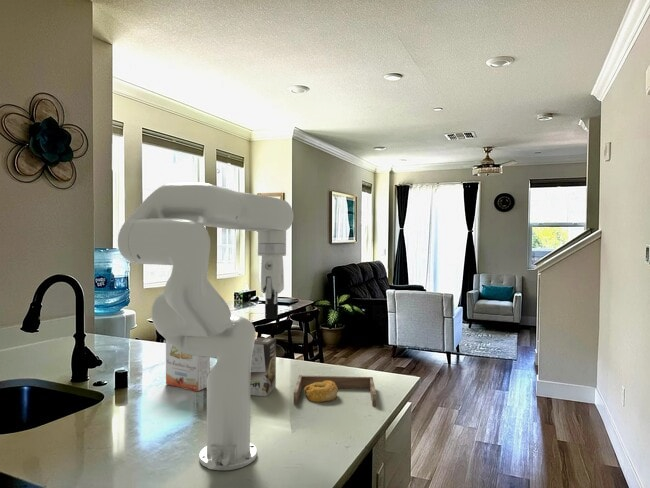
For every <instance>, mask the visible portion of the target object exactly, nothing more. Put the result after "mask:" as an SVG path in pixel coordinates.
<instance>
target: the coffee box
mask: <svg viewBox="0 0 650 488" xmlns="http://www.w3.org/2000/svg"><path fill="white" fill-rule="evenodd" d="M276 371H277V338H275V337H256V338H255V342H254V348H253V353H252V360H251V376H250V396H259V397H268V396H269V395H270V394H271V393H272V392H273V391H274V389H276V385H277V383H276V381H277V378H276V377H277V372H276Z"/></svg>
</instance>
